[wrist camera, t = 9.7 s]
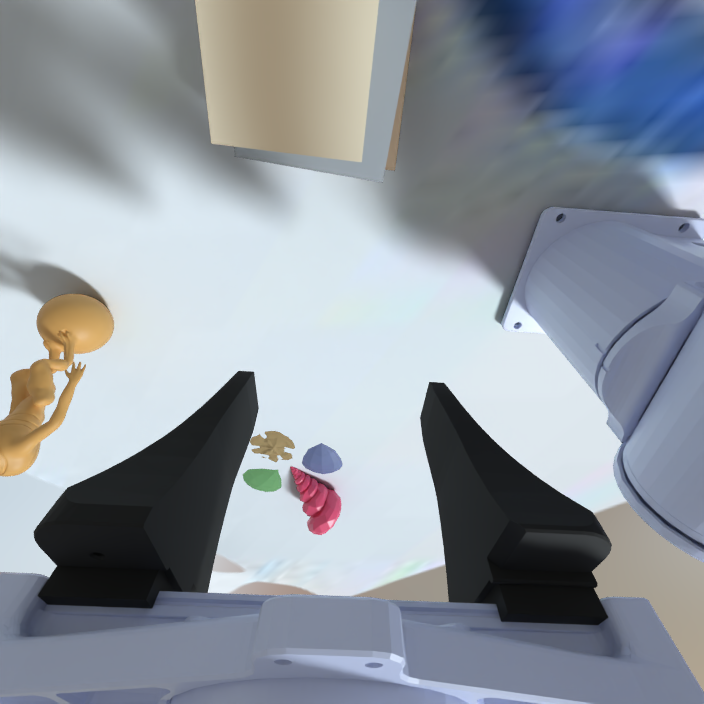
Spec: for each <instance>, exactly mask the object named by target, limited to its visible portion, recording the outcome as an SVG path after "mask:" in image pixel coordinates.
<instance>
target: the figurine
mask: <svg viewBox="0 0 704 704" xmlns="http://www.w3.org/2000/svg"><path fill="white" fill-rule="evenodd" d="M37 329H38V332H39V334H40V336H41V337H42V338H43V340H44V342H43V344H44V346H45V348H46V349H47V350H48V351H49V359H41V360H38V361H36V362H34V363H33V364H32V365H31V367H30V369H22V370H19V371H16V372H14V373H13V374H12V375H11V377H10V380H11V384H12V392H11V394H12V402H11V409H10V412H9V415H8V416H7V417H6V418H5V419H4V420H1V421H0V476H15V475H18V474H21V473H23V472H25V471H26V470H27V469H29V468H30V467H31V466H32V464H33V463H34V462H35V460H36V458H37V456H38V453H39V448H40V442H41V441H42V440H43V439H45V438H46V437H47V436H49V435H50V434H51V433H52V432H54V431H55V430H56V429H57V428H58V427H59V426H60V425H61V424H62V422H63V420H64V418H65V416H66V413H67V410H68V407H69V405H70V402H71V400H72V397H73V394H74V390H75V387H76V385H77V383H78V382H79V380H80V379H81V377H82V375H83V372H84V370H85V367H86V364H85V365H84V367H83V369H80V368H81V362H79V364H78V367H77V369H75V363H74V362H73V359H74V354H83V353H88V352H92V351H95V350H97V349H99V348H100V347H102V346H103V345H105V344H106V343H107V342H108V340H109V339H110V337H111V336H112V333H113V330H114V321H113V317H112V315H111V313H110V311H109V310H108V309H107V307H106V306H105V305H104V304H102V303H101V302H100V301H98V300H96V299H94V298H92V297H90V296H86V295H82V294H64V295H60V296H57V297H55V298H53V299H51V300H49V301H48V302H47V303H45V304H44V305H43V306H42V308H41V309H40V311H39V313H38V316H37ZM61 352H64V360H62V359H59V357H60V353H61ZM72 363H73V365H72V370H71V373H68V371H67V370H66V369H68V367H69V366H70V365H71V364H72ZM64 370H65V373H66V376H67V377H68V378H69V382H68V384H67V386H66V387H65V389H64V390H63V392H62V394H61V396H60V398H59V401H58V405H57V407H56V409H55V411H54V413H53V414H52V416H51V418H50V420H49V421H48V422H47V423H45V424H43V425H42V423H43V421H44V418H45V415H44V410H45V406H46V405H49V404H51V403H52V402H53V401H54V399H55V395H54V393H55V390H56V388H55V385H54V383H53V375H52V374H53V373H55V372H56V371H64Z"/></svg>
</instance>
